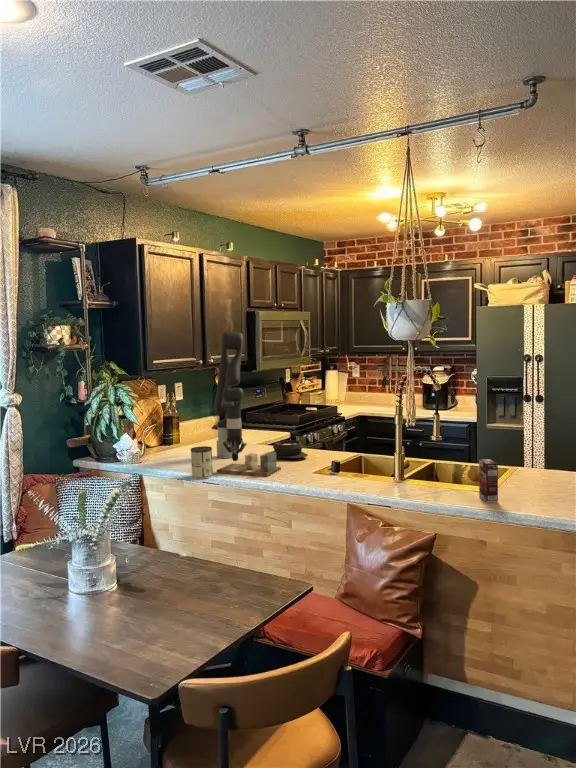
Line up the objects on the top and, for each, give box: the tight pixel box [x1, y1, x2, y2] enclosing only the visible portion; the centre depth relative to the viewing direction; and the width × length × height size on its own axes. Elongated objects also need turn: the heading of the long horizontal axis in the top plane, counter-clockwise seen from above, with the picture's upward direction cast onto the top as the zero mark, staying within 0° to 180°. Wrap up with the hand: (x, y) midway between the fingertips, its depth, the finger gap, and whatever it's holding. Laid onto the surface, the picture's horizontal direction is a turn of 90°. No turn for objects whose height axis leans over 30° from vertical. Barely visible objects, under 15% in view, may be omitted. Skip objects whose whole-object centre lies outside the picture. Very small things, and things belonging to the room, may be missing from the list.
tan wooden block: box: [244, 452, 259, 470], centre depth 307 cm, size 4×10×7 cm, turn 156°
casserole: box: [270, 439, 309, 460], centre depth 342 cm, size 25×19×8 cm
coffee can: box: [190, 445, 214, 480], centre depth 301 cm, size 10×10×14 cm
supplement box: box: [478, 458, 499, 504], centre depth 246 cm, size 9×5×16 cm, turn 3°
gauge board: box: [216, 451, 282, 478], centre depth 310 cm, size 28×16×10 cm, turn 66°
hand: (235, 460), depth 313 cm, fingers closed
